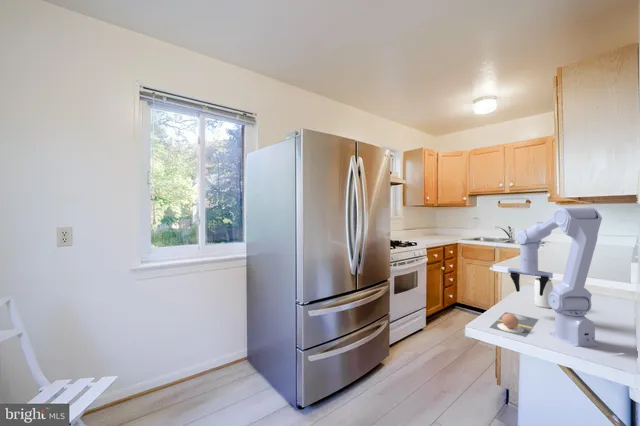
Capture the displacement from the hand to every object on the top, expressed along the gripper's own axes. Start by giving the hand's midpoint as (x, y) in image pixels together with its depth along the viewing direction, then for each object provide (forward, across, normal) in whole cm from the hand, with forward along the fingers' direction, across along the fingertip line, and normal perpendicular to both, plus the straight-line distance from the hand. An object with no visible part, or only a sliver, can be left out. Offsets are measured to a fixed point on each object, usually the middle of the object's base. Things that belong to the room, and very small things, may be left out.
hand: (529, 293), depth 113 cm
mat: (+9, +2, +14) cm, 17 cm away
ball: (+6, +2, +20) cm, 21 cm away
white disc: (+9, +2, +20) cm, 22 cm away
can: (+10, -2, -19) cm, 21 cm away
